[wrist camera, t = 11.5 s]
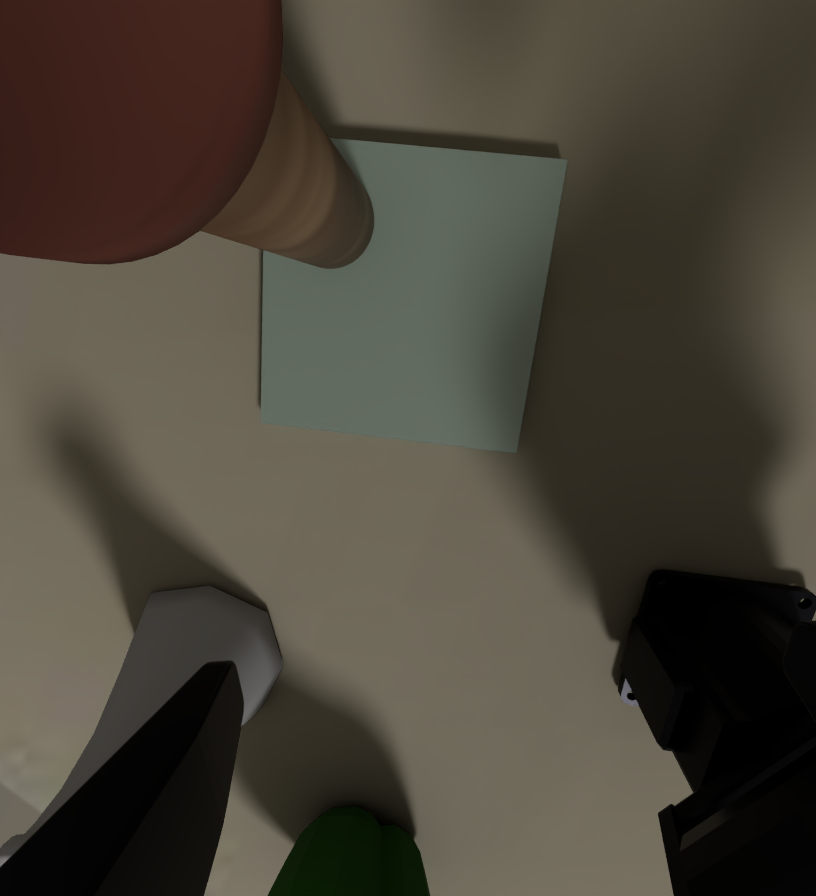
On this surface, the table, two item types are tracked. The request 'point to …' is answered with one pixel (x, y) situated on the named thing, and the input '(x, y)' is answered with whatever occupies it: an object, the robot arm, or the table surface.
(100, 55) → the walnut peg
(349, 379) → the green pad
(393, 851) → the bell pepper
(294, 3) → the table surface
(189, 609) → the flask
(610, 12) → the table surface
